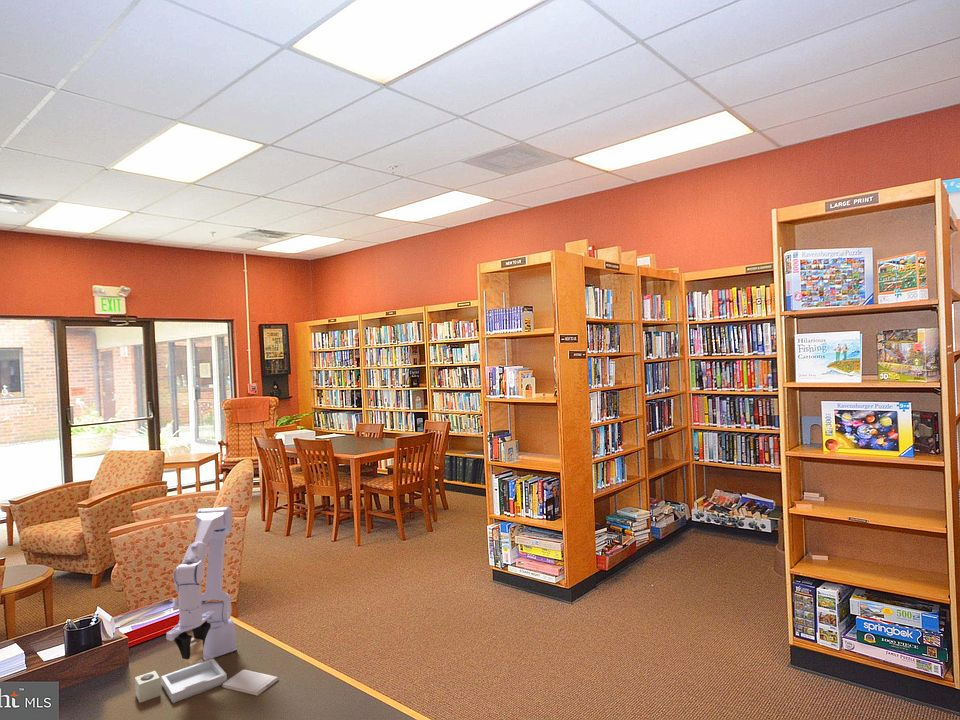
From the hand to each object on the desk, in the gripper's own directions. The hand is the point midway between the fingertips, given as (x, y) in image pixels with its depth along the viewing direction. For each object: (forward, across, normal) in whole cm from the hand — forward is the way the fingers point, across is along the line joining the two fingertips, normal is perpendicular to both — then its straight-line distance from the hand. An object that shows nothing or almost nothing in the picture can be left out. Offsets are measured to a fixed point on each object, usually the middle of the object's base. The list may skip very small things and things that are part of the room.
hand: (192, 654), depth 171 cm
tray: (+8, 0, 0) cm, 8 cm away
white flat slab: (+9, -6, +15) cm, 19 cm away
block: (+2, 0, 0) cm, 2 cm away
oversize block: (+8, +8, -8) cm, 14 cm away
